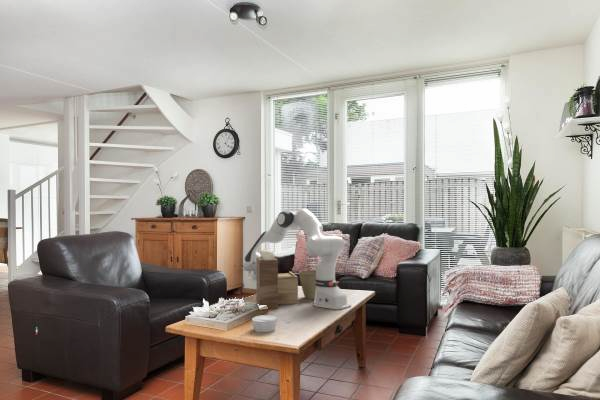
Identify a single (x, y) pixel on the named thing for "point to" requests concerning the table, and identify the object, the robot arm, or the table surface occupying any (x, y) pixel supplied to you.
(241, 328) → the table surface
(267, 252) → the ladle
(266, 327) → the ramekin
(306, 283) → the plant pot
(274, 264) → the stand
